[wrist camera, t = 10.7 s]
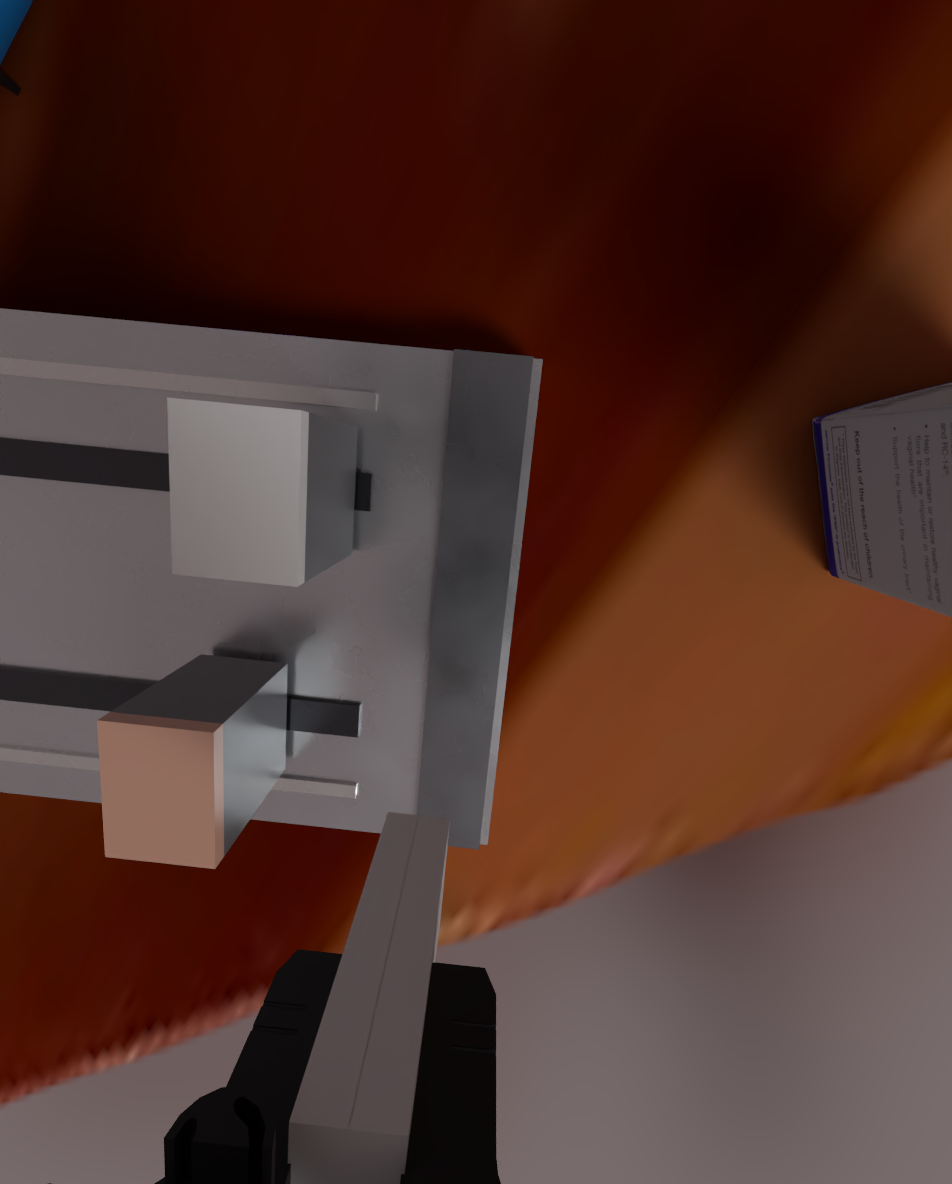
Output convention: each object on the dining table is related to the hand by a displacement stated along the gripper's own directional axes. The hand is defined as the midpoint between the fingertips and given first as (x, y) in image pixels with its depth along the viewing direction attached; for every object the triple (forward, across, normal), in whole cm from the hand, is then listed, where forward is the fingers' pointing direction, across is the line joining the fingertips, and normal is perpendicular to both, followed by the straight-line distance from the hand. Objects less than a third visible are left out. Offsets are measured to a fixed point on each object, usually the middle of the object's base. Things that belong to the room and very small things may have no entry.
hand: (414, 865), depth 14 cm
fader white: (+6, -5, +8) cm, 12 cm away
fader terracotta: (+6, -7, 0) cm, 9 cm away
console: (+9, -11, +4) cm, 15 cm away
